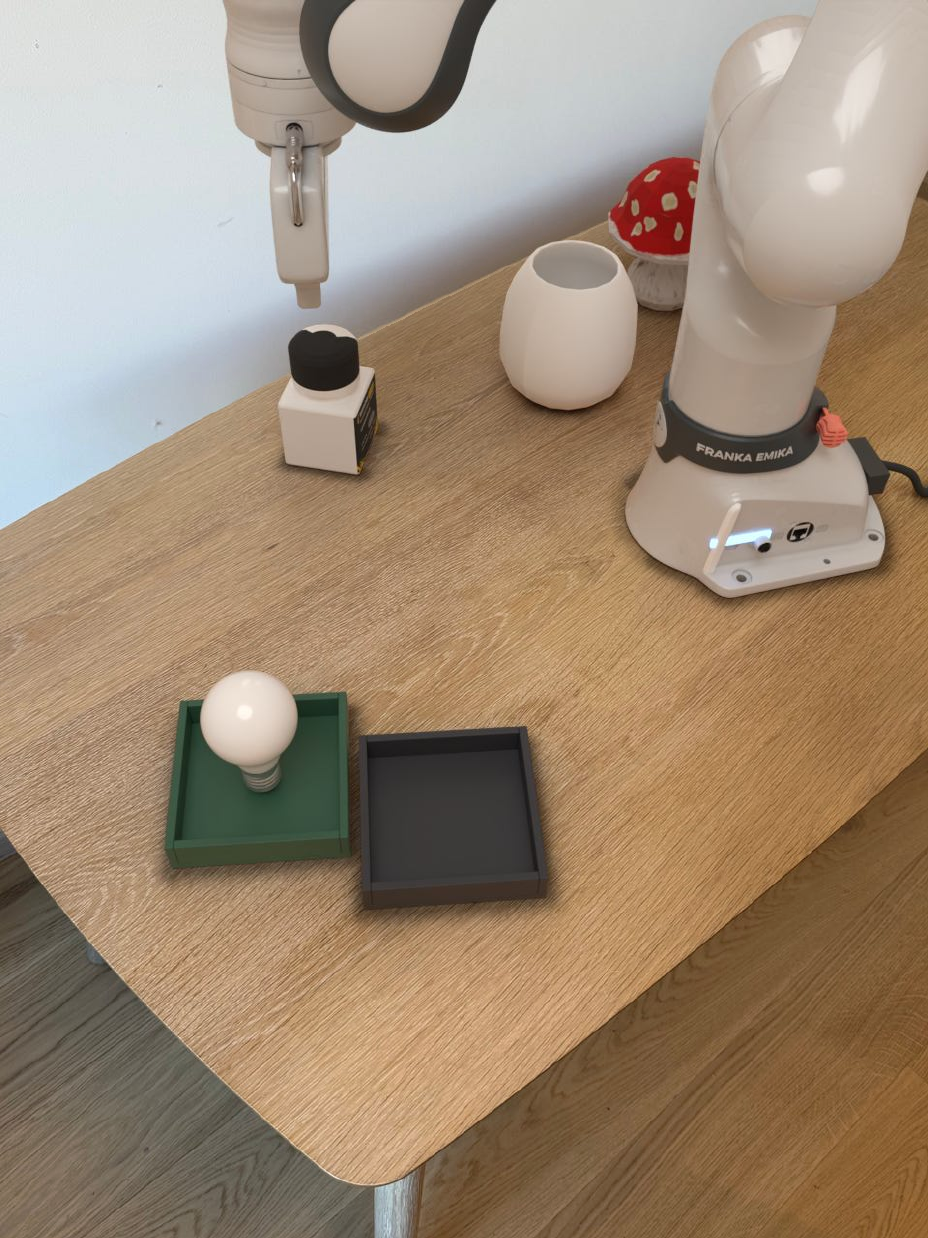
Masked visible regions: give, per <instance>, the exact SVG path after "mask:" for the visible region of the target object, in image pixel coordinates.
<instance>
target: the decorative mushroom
mask: <svg viewBox="0 0 928 1238" xmlns="http://www.w3.org/2000/svg"><path fill="white" fill-rule="evenodd" d="M699 167H700V160H699V159H698V160H697V159H694V158H692V157H685V156H683V157H682V156H681V157H679V156H670V157H667V158H663V159H659V160H657V161H654V162H652V163H650V164H649V165H648V166H646V167H645V168H644V169H643V170H642V171H640V173H638V174H637V175H636V176H635V177H634V178H633V179H632V180H631V181H630V182H629V183H628V185H627V187H626V189H625V192H624V194H623V196H622V198H621V200H620V201H618V203H616V205H615V206H614V207H613V208H612V209H611V210H609V212H608V213H607V219H608V220H607V221H608V232H609V237H610V238H611V239H612V240H613V241H614V242H615V243H616V244H617V245H619V246H620V248H622V249H623V250H624V251H625V252H626V253H627V254H629V255H631V256H634V257H635V258H634V259H633V261H632V262H631V263H630V265H629V268H628V269H627V272H626V273H627V275H628V277H629V279H630V281H631V283H632V285H633V289H634V293H635V297H636V301H637V303H638V304H639V305H640V306H642V307H645V308H648V309H651V310H653V311H660V312H661V311H662V312H673V311H676V310H679V309H683V304H684V299H685V292H686V285H687V275H688V264H689V254H690V244H691V234H692V225H693V216H694V207H695V199H696V191H697V182H698V174H699Z"/></svg>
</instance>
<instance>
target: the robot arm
mask: <svg viewBox="0 0 928 1238" xmlns="http://www.w3.org/2000/svg"><path fill="white" fill-rule="evenodd" d="M221 1H222V5H223V7H224V12H225V17H226V33H225V38H224V40H225V41H224V54H225V55H224V56H225V60H226V69H227V78H228V84H229V85H228V86H229V92H230V100H231V107H232V115H233V121H234V124H235V126H236V128H237V130H239V131H240V133H241V134H243V135H244V136H246V137H248V138H249V139H251V140H253V141H254V145H255V147H256V149H257V150H258V151H259V152H260V153H261V154H263V155H265V156H267V157H269V158H270V165H269V166H270V168H269V169H270V170H269V205H270V216H271V226H272V237H273V246H274V247H273V248H274V257H275V266H276V271H277V276H278V278H279V280H280V282H281V283H283V284H286V285H294V288H295V294H296V295H295V296H296V303H297V306H298V307H299V308H300V309H303V310H308V309H309V310H310V309H319V308H320V307H321V305H322V293H321V292H322V291H321V284H322V283H323V284H324V283H326V282H327V281H328V279H329V276H330V224H329V221H330V219H329V217H330V216H329V214H330V213H329V211H330V210H329V156H330V155H331V154H333V153H334V152H336V151H337V150H338V149H339V148H340V147H341V145H342V142H343V137H344V136H345V135H347V134H348V133H349V132H351V131H352V129H354V128H355V126H356V125H357V124H358V125H361V126H363V127H365V128H368V129H370V130H374V131H378V132H383V133H391V134H400V133H401V134H402V133H403V134H404V133H411V132H415V131H419V130H422V129H425V128H427V127H429V126H431V125H433V124H434V123H436V122H438V121H439V120H440V119H441V118H443V117H444V116H445V115H446V114H447V113H448V112H449V111H450V110H451V108H452V107H453V106H454V104H455V103H456V102H457V100H458V98H459V96H460V94H461V93H462V90H463V87H464V85H465V82H466V79H467V76H468V73H469V69H470V65H471V62H472V57H473V54H474V49H475V45H476V43H477V39H478V36H479V33H480V31H481V28H482V26H483V25H484V23H485V20H486V19H487V16H488V15H489V13H490V12H491V10H492V8H493V7H494V6H495V4H496V2H497V1H498V0H221ZM707 105H708V106H707V112H706V117H705V124H704V130H703V138H702V146H701V152H700V160H699V161H700V167H699V174H698V182H697V191H696V199H695V207H694V216H693V225H692V234H691V244H690V254H689V264H688V275H687V285H686V292H685V299H684V304H683V308H682V311H681V314H680V315H681V317H680V321H679V326H678V331H677V337H676V340H675V341H676V342H675V347H674V352H673V358H672V362H671V367H670V368H669V369H668V370H667V372H666V374H665V376H664V378H663V383H662V387H661V391H660V395H659V399H658V401H657V402H656V407H655V413H654V419H653V425H652V426H653V427H652V439H653V443H652V446H651V449H650V452H649V454H648V456H647V460H646V462H645V464H644V466H643V468H642V471H641V473H640V475H639V477H638V479H637V480H636V483H634V486H633V487H632V489H631V490H630V492H629V494H628V496H627V498H626V501H625V507H624V514H625V521H626V524H627V528H628V529H629V532H630V533H631V535H632V537H633V538H634V539H635V541H636V542H637V543H638V545H639V546H640V547H641V548H642V549H643V550H644V551H645V552H646V553H648V554H649V555H650V556H651V557H653V558H654V559H656V560H657V561H658V562H661V563H662V564H664V565H666V566H667V567H670V568H671V569H674V570H677V571H679V572H682V573H684V574H687V575H689V576H691V577H694V578H695V579H697V580H698V581H699V582H701V583H702V584H703V585H704V586H705V587H707V588H708V589H709V590H711V592H714V593H715V594H716V595H718V596H721V597H723V598H728V599H730V598H731V599H732V598H733V599H735V598H739V597H743V596H748V595H753V594H757V593H762V592H766V591H767V592H768V591H771V590H776V589H781V588H785V587H791V586H796V585H801V584H805V583H810V582H814V581H820V580H824V579H829V578H833V577H837V576H838V577H839V576H842V575H847V574H853V573H858V572H863V571H867V570H870V569H873V568H874V569H875V568H877V567H878V566H879V565H880V563H881V560H882V558H883V555H884V551H885V548H886V547H885V546H886V531H885V527H884V526H885V525H884V523H883V522H884V521H883V519H882V517H881V513H880V510H879V508H878V505H877V503H876V502H875V500H874V498H873V496H875V495H882V494H883V493H884V491H885V489H886V486H887V484H888V482H889V479H890V477H891V472H894V473H898V474H901V475H903V476H905V477H906V478H908V479H909V480H910V483H911V485H912V487H913V490H914V492H915V493H916V494H917V495H919V496H920V497H928V487H925V486H924V485H923V483H922V480H921V477H920V476H919V474H918V472H917V471H916V470H915V469H913V468H912V467H910V466H907V465H904V464H902V463H898V462H893V461H889V460H883V459H881V458H880V456H879V455H878V454H877V452H876V451H875V449H874V448H873V446H872V444H871V443H870V442H869V440H868V439H867V437H866V436H860V437H852V438H848V435H849V433H848V430H847V429H846V427H845V426H844V425H843V423H842V418H841V416H840V415H838V414H834V413H830V412H829V406H830V403H829V400H828V398H827V396H826V394H825V392H824V391H823V390H822V389H821V388H819V387H818V386H817V384H816V383H817V381H818V377H819V375H820V371H821V367H822V365H823V361H824V358H825V355H826V352H827V349H828V346H829V343H830V340H831V337H832V333H833V330H834V327H835V323H836V318H837V307H838V305H840V304H843V303H845V302H848V301H850V300H852V299H854V298H856V297H858V296H861V295H862V294H863V293H865V292H867V290H869V289H870V288H872V287H873V286H874V285H876V283H878V282H879V281H880V280H881V279H882V278H883V277H884V276H885V275H886V274H887V272H888V271H889V270H890V269H891V267H892V266H893V264H894V263H895V262H896V260H897V258H898V256H899V254H900V252H901V249H902V248H903V244H904V241H905V238H906V234H907V229H908V224H909V220H910V216H911V213H912V210H913V206H914V204H915V201H916V198H917V196H918V193H919V190H920V187H921V185H922V183H923V181H924V179H925V177H926V175H927V173H928V0H819V1H818V3H817V5H816V7H815V10H814V12H813V14H812V17H809V16H806V15H801V14H800V15H799V14H785V15H777V16H774V17H773V16H772V17H769V18H766V19H765V20H762V21H760V22H758V23H756V24H754V25H753V26H751V27H750V28H748V29H747V30H745V31H744V32H743V33H741V34H740V35H739V36H738V37H737V38H736V39H735V40H734V41H733V42H732V43H731V45H729V47H728V49H727V50H726V51H725V53H724V54H723V56H722V58H721V59H720V62H719V63H718V65H717V69H716V72H715V75H714V78H713V81H712V85H711V89H710V94H709V99H708V104H707Z"/></svg>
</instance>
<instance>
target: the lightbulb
mask: <svg viewBox="0 0 928 1238" xmlns="http://www.w3.org/2000/svg"><path fill="white" fill-rule="evenodd" d="M297 723H298V712H297V706H296V703H295V700H294V698H293V696H292V692H291V690H290V689H289V688H288V686H287V685H286V684H284V683H283V681H281V680H280V679H279V678H278V677H276V676H274V675H273V674H270V673H268V672H264V671H261V670H255V669H245V670H243V669H242V670H239V671H234V672H232V673H229V674H227V675H225V676H224V677H222V678H220V679H219V680H218V681H217V682H216V683H214V684H213V686H212V687H211V688H210V689H209V690H208V692H207V694H206V695H205V697H204V702H203V705H202V708H201V714H200V724H201V730H202V734H203V736H204V739H205V741H206V743H207V744H208V746H209V747H210V748H211V750H212V751H213V752H214V753H215V754H216V755H218V756H219V757H220V758H222V759H223V760H225V761H227V762H229V763H231V764H234V765H237V766H238V767H239V768H240V769H241V771H242V775H243V779H244V783H245V785H246V786H247V787H248V788H249V789H250V790H252V791H255V792H267V791H270V790H272V789H273V788H275V787H276V786H277V785H278V783H279V782H280V780H281V769H280V764H279V758H280V755H281V754H282V753H283V752H284V751H285V750H286V748H287V747H288V746H289V744H290V743H291V741H292V739H293V737H294V735H295V732H296V728H297Z"/></svg>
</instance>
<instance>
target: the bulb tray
mask: <svg viewBox="0 0 928 1238" xmlns="http://www.w3.org/2000/svg"><path fill="white" fill-rule="evenodd" d="M291 694H292V693H291ZM347 694H348V693H347V691H329V692H312V693H310V692H309V693H293V694H292V696H293V698H294V700H295V703H296V706H297V712H298V723H297V728H296V732H295V735H294V737H293V739H292V741H291V743H290V744H289V746H288V747H287V748H286V750H285V751H284V752H283V753H282V754H281V755H280V758H279V764H280V769H281V780H280V782H279V783H278V785H277V786H276V787H275V788H273V789H272V790H270V791H267V792H255V791H252V790H250V789H249V788H248V787H247V786H246V785H245V783H244V779H243V775H242V771H241V769H240V768H239V767H238V766H237V765H234V764H231V763H229V762H227V761H225V760H223V759H222V758H220V757H219V756H218V755H216V754H215V753H214V752H213V751H212V750H211V748H210V747H209V746H208V744H207V743H206V741H205V739H204V736H203V734H202V730H201V724H200V714H201V708H202V705H203V702H204V699H205V698H204V699H203V698H202V699H188V700H187V699H186V700H185V699H184V700H179V707H178V715H177V725H176V734H175V741H174V743H175V744H174V752H173V754H174V755H173V760H172V761H173V762H172V771H171V779H170V781H171V782H170V791H169V799H168V800H169V801H168V808H167V809H168V810H167V819H166V827H165V838H164V848H163V849H164V852H165V854H166V857H167V859H168V862H169V864H170V867H171V869H186V868H202V867H216V866H217V867H218V866H229V865H230V866H231V865H232V866H233V865H247V864H248V865H249V864H264V863H278V862H280V863H281V862H292V861H293V862H295V861H308V860H321V859H322V860H325V859H326V860H327V859H339V858H342V859H343V858H351V857H352V833H351V831H352V830H351V829H352V826H351V824H352V823H351V822H352V821H351V820H352V819H351V768H350V767H351V765H350V764H351V762H350V761H351V760H350V713H349V712H350V711H349V703H348V702H349V701H348V695H347Z"/></svg>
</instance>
